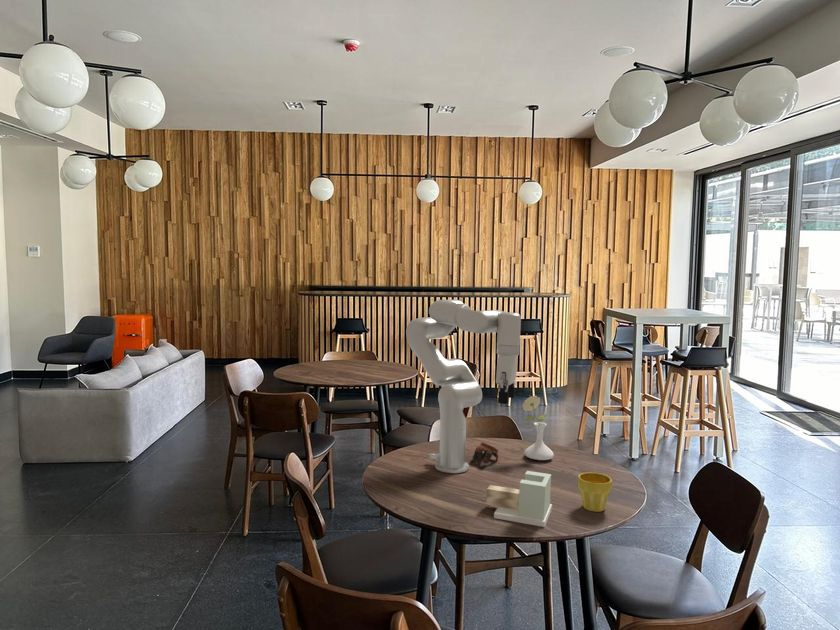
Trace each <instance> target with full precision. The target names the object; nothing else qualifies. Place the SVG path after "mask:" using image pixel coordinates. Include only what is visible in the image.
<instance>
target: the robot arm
mask: <svg viewBox="0 0 840 630" xmlns="http://www.w3.org/2000/svg"><path fill="white" fill-rule="evenodd" d="M428 314H429V316H430V317H429V316H428V317H418V318H414V319H412V320H410V322H409V323H408V324H407V326H406V330H405V333H406V334H405V335H406V336H405V337H406V341H407V343H408V346H409V347H410V349H411V351H412V352H413V354H414V355H415V357H417V359H418V360H419V361H420V363H421V365H422V366H423V367H422V368H423V370H424V371H425V372H426V374H427V376H428V378H429V379H430V381H431V382H432V383H433V384H434V385H435V386H440V387H441V386H442V387H441V388H440V389H439V391H438V397H437V400H438V405H439V415H440V416H439V418H440V419H439V420H440V421H439V422H440V424H439V426H440V427H439V453H429V454H428V458H429V460H430V461H434V462H435V463H434V467H435V469H436V470H437V471H439V472H442V473H445V474H446V473H447V474H461V473H465V472H467V471H469V469H470V464H469V463H468V462H466V445H467V444H466V443H467V441H466V440H467V438H466V437H467V436H466V435H467V420H466V419H467V418H466V416H465V414H464V412H463V409H464V408H470V407H475V406H477V405H478V404H480V403H481V402H482V399H483V392H482V388H481V387H482V386H480V384H479V382H478V380H477V379H476V377H475V375H474V374H473V373H472V370H471V369H470V368H469V366H468V365H467V363H466V362H465V361H463V360H462V359H459V358H449V359H448V358H446V357H445V356H443V355H444V354H442V352H441V350H440V349H439V348H438V347H437V346H436V345H435V344H434V343H432V342H431V341H429V340H434V339H442V338H445V337H447V336H448V335H450V334H451V333H452V332H453V330H455V328H456V327H458V329H460V330H462V331H465V332H468V333H473V334H488V333H490V334H491V333H496V334H497V336H496V354H497V356H498V357H497V363H496V364H497V365H496V375H495V376H496V377H495V383H496V385H498V393H497V403H498V404H501V405H502V404H503V405H507V404H509V398H510V399H514V398H515V389H516V387H515V386H516V385H515V381H516V380H517V379H516V378H517V356H520V352H521V351H520V349H521V329H522V327H521V325H522V318H521V314H520V313H517V312H510V311H509V312H508V311H503V310H501V309H495V310H494V309H492V310H490V309H489V310H487V309H486V310H472V309H471V307H470V306H469V305H468V304H466V303H463V302H462V301H461V300H459V299H439V300H435V301H434V302H432V303H431V305H430V307H429V309H428Z"/></svg>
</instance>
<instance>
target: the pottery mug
mask: <svg viewBox="0 0 840 630" xmlns="http://www.w3.org/2000/svg"><path fill="white" fill-rule="evenodd" d="M498 452H499V450H498V448H495V447H494V446H492V445H490V444H489V443H486V442H481V443H480V444H479V445H478V446H476V447H475V451H474V452H473V453H474V454H473V455H472V457H471V458H472V459H471V461H472V462H474V463H475V464H477V465H480V466H481V465H482V463H483V464H489V463H490V460H491V458H492V456H494V458H495V462H498V461H499V454H498Z"/></svg>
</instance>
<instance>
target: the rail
mask: <svg viewBox="0 0 840 630" xmlns="http://www.w3.org/2000/svg"><path fill="white" fill-rule="evenodd" d="M519 490H520V488H519V489H517V488H514V487H513V488H511V487H506V486H498V485H494V484H493V485H492V484H489V486H488V487H487V488H486V505H488V506H492V507H493V506H494V507H497V508H498V507H504V508H510V509H516V510H519Z"/></svg>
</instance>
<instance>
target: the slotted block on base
mask: <svg viewBox="0 0 840 630" xmlns="http://www.w3.org/2000/svg"><path fill="white" fill-rule="evenodd" d="M551 484H552V474H550V473H545V472H538V471H532V470H531V471H530V470H526V472H525V473H524V479H521V480H520V481H519V510H516V509H510V508H504V507H498V506H497V508H496V509H495V511H494V513H493V519H498V520H504V521H509V522H514V523H519V524H525V525H532V526H537V527H541V528H543V527H544V528H545V527H546V525H547V522H548V521H549V520H548V519H549V517H550V514H551V512H552V510H553V504H552V503H551V488H552V487H551V486H552V485H551Z"/></svg>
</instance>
